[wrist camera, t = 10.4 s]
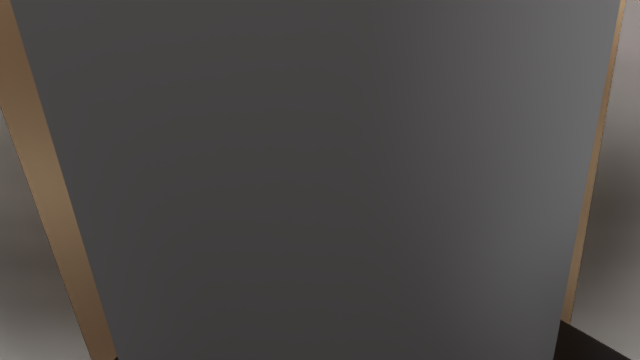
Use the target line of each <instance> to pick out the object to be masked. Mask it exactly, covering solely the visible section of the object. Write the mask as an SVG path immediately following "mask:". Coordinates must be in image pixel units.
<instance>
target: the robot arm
mask: <svg viewBox="0 0 640 360" xmlns="http://www.w3.org/2000/svg"><path fill="white" fill-rule="evenodd" d="M114 360H118V357H116V358H115V359H114ZM553 360H631V359H629V358H627V357H626V356H624V355H622V354H620V353H619V352H617V351H615V350H613V349H612V348H610V347H608V346H606V345H605V344H603V343H601V342H599V341H598V340H596V339H594V338H592V337H591V336H589V335H587V334H585V333H584V332H582V331H580V330H578V329H577V328H575V327H573V326H571V325H570V324H568V323H566V322H564V321H563V320H560V325H559V331H558V336H557V341H556V347H555V352H554V357H553Z"/></svg>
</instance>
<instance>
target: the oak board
mask: <svg viewBox="0 0 640 360" xmlns="http://www.w3.org/2000/svg"><path fill="white" fill-rule="evenodd" d="M625 1H626V0H621V1H620V6H619V11H618V17H617V22H616V27H615V33H614V38H613V43H612V49H611V54H610V59H609V65H608V70H607V75H606V81H605V86H604V91H603V97H602V102H601V107H600V113H599V118H598V123H597V128H596V134H595V139H594V144H593V150H592V155H591V160H590V166H589V171H588V176H587V182H586V187H585V192H584V198H583V203H582V208H581V214H580V219H579V224H578V230H577V235H576V240H575V245H574V251H573V256H572V261H571V267H570V272H569V277H568V283H567V288H566V293H565V299H564V304H563V309H562V315H561V320H563V321H564V322H566V323H568V324H570V322H571V316H572V310H573V304H574V298H575V293H576V287H577V281H578V275H579V269H580V263H581V257H582V252H583V246H584V240H585V234H586V228H587V222H588V217H589V211H590V205H591V199H592V193H593V188H594V182H595V176H596V170H597V164H598V158H599V153H600V147H601V141H602V135H603V129H604V123H605V118H606V112H607V106H608V100H609V94H610V88H611V83H612V77H613V71H614V65H615V59H616V53H617V48H618V42H619V36H620V30H621V24H622V18H623V13H624V7H625ZM0 107H1V110H2V112H3V115H4V118H5V121H6V124H7V126H8V129H9V132H10V135H11V137H12V140H13V143H14V146H15V149H16V151H17V154H18V157H19V160H20V162H21V165H22V168H23V171H24V174H25V176H26V179H27V182H28V185H29V187H30V190H31V193H32V196H33V199H34V201H35V204H36V207H37V210H38V212H39V215H40V218H41V221H42V224H43V226H44V229H45V232H46V235H47V237H48V240H49V243H50V246H51V249H52V251H53V254H54V257H55V260H56V262H57V265H58V268H59V271H60V274H61V276H62V279H63V282H64V285H65V287H66V290H67V293H68V296H69V298H70V301H71V304H72V307H73V310H74V312H75V315H76V318H77V321H78V323H79V326H80V329H81V332H82V335H83V337H84V340H85V343H86V346H87V348H88V351H89V354H90V357H91V360H114V359H115V358H116V357H117V354H116V351H115V347H114V344H113V341H112V337H111V334H110V331H109V327H108V324H107V321H106V317H105V314H104V311H103V307H102V304H101V301H100V297H99V294H98V291H97V288H96V284H95V281H94V278H93V274H92V271H91V268H90V264H89V261H88V258H87V254H86V251H85V248H84V244H83V241H82V238H81V235H80V231H79V228H78V225H77V221H76V218H75V215H74V211H73V208H72V205H71V201H70V198H69V195H68V191H67V188H66V185H65V181H64V178H63V175H62V172H61V168H60V165H59V162H58V158H57V155H56V152H55V148H54V145H53V142H52V138H51V135H50V132H49V128H48V125H47V122H46V118H45V115H44V112H43V109H42V105H41V102H40V99H39V95H38V92H37V89H36V85H35V82H34V79H33V75H32V72H31V69H30V65H29V62H28V59H27V55H26V52H25V49H24V46H23V42H22V39H21V36H20V32H19V29H18V26H17V22H16V19H15V16H14V12H13V9H12V6H11V2H10V0H0Z"/></svg>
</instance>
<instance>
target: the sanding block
mask: <svg viewBox="0 0 640 360" xmlns="http://www.w3.org/2000/svg"><path fill="white" fill-rule="evenodd" d="M620 1H621V0H10V2H11V6H12V9H13V12H14V16H15V19H16V22H17V26H18V29H19V32H20V36H21V39H22V42H23V46H24V49H25V52H26V55H27V59H28V62H29V65H30V69H31V72H32V75H33V79H34V82H35V85H36V89H37V92H38V95H39V99H40V102H41V105H42V109H43V112H44V115H45V118H46V122H47V125H48V128H49V132H50V135H51V138H52V142H53V145H54V148H55V152H56V155H57V158H58V162H59V165H60V168H61V172H62V175H63V178H64V181H65V185H66V188H67V191H68V195H69V198H70V201H71V205H72V208H73V211H74V215H75V218H76V221H77V225H78V228H79V231H80V235H81V238H82V241H83V244H84V248H85V251H86V254H87V258H88V261H89V264H90V268H91V271H92V274H93V278H94V281H95V284H96V288H97V291H98V294H99V297H100V301H101V304H102V307H103V311H104V314H105V317H106V321H107V324H108V327H109V331H110V334H111V337H112V341H113V344H114V347H115V351H116V354H117V357H118V360H553V357H554V352H555V347H556V341H557V336H558V331H559V325H560V320H561V315H562V309H563V304H564V299H565V293H566V288H567V283H568V277H569V272H570V267H571V261H572V256H573V251H574V245H575V240H576V235H577V230H578V224H579V219H580V214H581V208H582V203H583V198H584V192H585V187H586V182H587V176H588V171H589V166H590V160H591V155H592V150H593V144H594V139H595V134H596V128H597V123H598V118H599V113H600V107H601V102H602V97H603V91H604V86H605V81H606V75H607V70H608V65H609V59H610V54H611V49H612V43H613V38H614V33H615V27H616V22H617V17H618V11H619V6H620Z"/></svg>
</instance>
